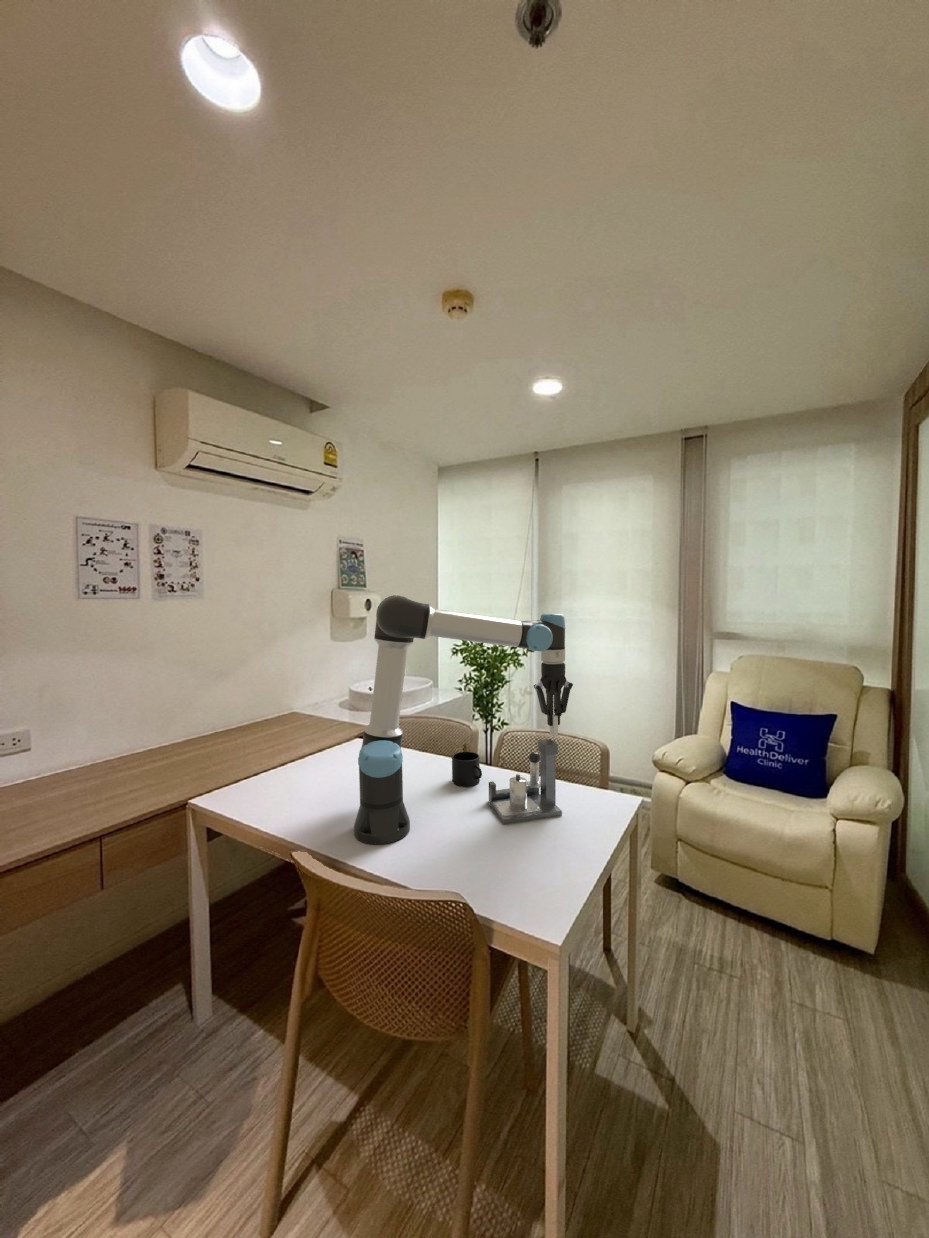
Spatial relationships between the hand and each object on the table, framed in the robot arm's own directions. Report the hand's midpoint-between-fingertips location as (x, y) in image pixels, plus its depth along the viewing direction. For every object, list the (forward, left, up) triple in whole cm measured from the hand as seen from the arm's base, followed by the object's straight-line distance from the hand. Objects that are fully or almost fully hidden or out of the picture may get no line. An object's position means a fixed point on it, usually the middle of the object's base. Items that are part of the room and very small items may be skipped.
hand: (553, 735), depth 154 cm
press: (-14, -7, -19) cm, 25 cm away
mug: (-24, +17, -19) cm, 35 cm away
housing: (-16, -9, -17) cm, 25 cm away
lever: (-7, 0, -16) cm, 17 cm away
